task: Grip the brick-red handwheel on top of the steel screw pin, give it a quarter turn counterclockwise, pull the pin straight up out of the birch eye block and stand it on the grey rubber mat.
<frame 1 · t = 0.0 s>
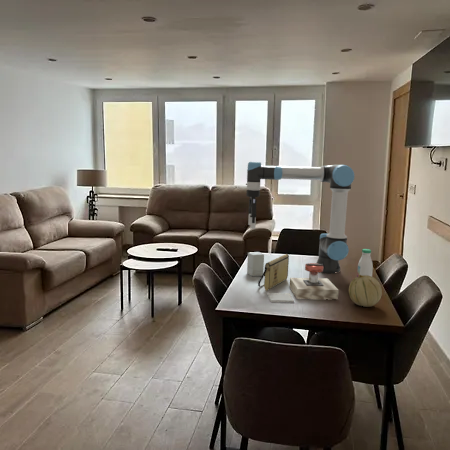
hand: (251, 226, 246), 28 cm above the table, tool pointing down, fingers open, 13 cm apart
cantaloupe: (363, 306, 202), on the table
milk bottle: (363, 285, 236), on the table
supplement box: (255, 274, 251), on the table
rubber mat: (280, 298, 209), on the table
screw pin: (313, 278, 218), in the eye block
eye block: (312, 293, 219), on the table
clutch purse: (272, 285, 232), on the table
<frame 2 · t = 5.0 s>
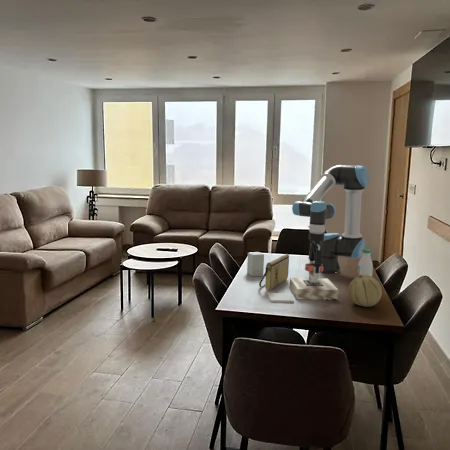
hand: (313, 276, 218), 9 cm above the table, tool pointing down, fingers closed on screw pin, 9 cm apart
screw pin: (313, 278, 218), in the eye block, touching gripper
everything else where it was.
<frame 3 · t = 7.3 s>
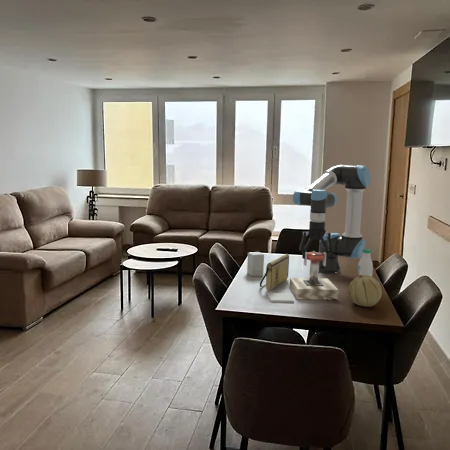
hand: (314, 265, 217), 14 cm above the table, tool pointing down, fingers closed on screw pin, 9 cm apart
screw pin: (314, 267, 218), point 13 cm above the table, touching gripper
everything else where it was.
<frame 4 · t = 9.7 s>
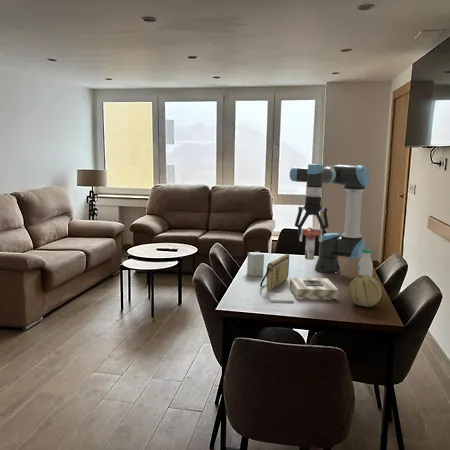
hand: (310, 241, 213), 27 cm above the table, tool pointing down, fingers closed on screw pin, 9 cm apart
screw pin: (310, 243, 213), point 26 cm above the table, touching gripper
everything else where it was.
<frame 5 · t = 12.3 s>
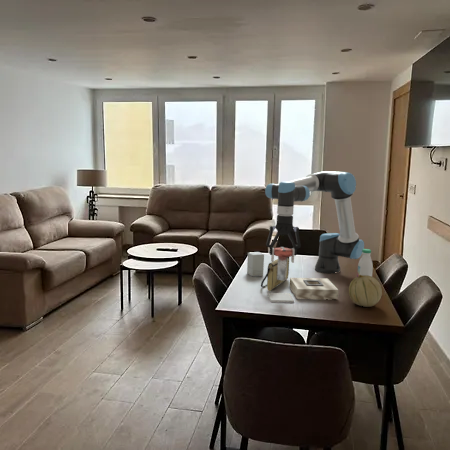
hand: (282, 261, 206), 18 cm above the table, tool pointing down, fingers closed on screw pin, 9 cm apart
screw pin: (282, 263, 206), point 17 cm above the table, touching gripper
everything else where it was.
when the fingers open (11 cm above the table, at t = 14.6 s): screw pin stays where it is, resting on rubber mat.
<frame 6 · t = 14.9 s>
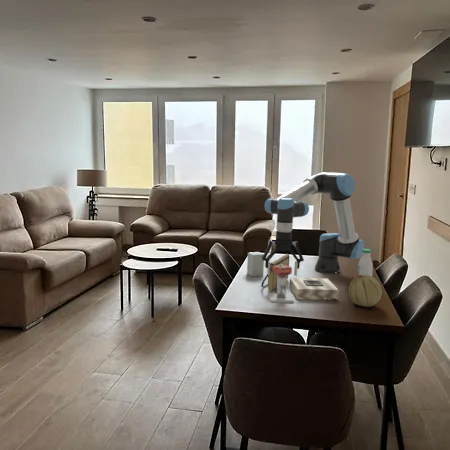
hand: (281, 275, 207), 12 cm above the table, tool pointing down, fingers open, 12 cm apart
screw pin: (281, 281, 208), on the rubber mat, point 9 cm above the table
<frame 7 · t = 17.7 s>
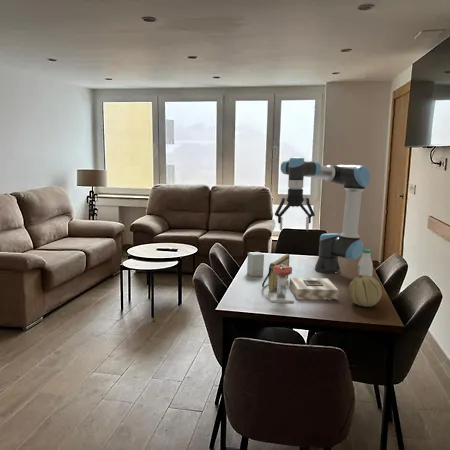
hand: (294, 229, 222), 31 cm above the table, tool pointing down, fingers open, 13 cm apart
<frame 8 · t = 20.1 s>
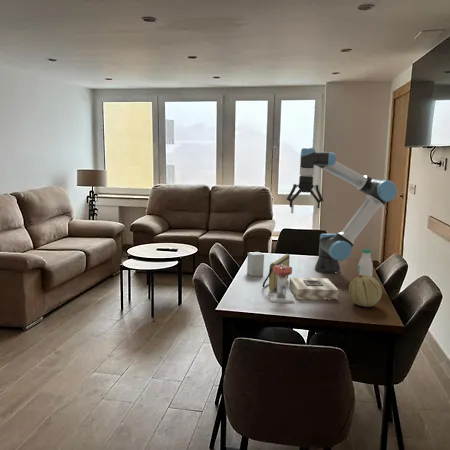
hand: (304, 213, 244), 37 cm above the table, tool pointing down, fingers open, 13 cm apart
at the end: screw pin inside the target area (0.2 cm from its centre), point 8.6 cm above the table; screw pin tilted 0°; the gripper is holding nothing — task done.
